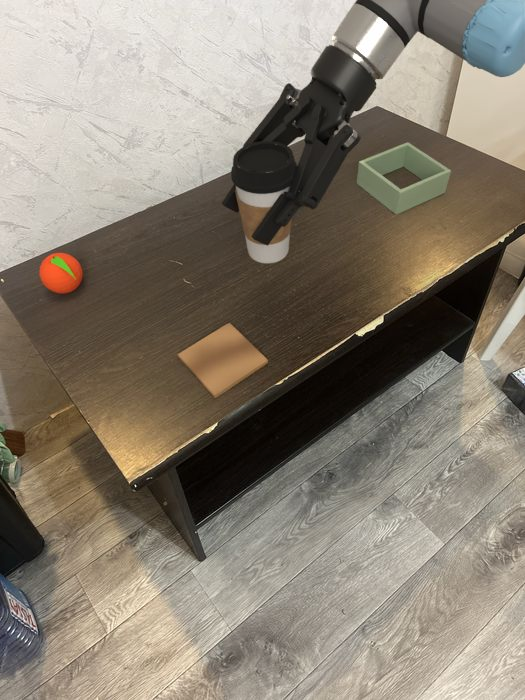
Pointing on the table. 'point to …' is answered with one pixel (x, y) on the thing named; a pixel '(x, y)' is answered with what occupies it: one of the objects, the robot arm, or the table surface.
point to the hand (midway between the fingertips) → (244, 224)
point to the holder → (413, 161)
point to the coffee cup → (263, 193)
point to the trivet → (222, 359)
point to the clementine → (61, 273)
